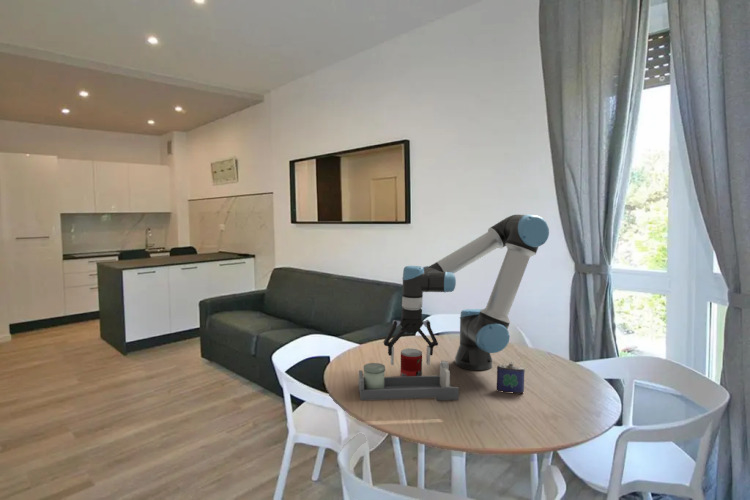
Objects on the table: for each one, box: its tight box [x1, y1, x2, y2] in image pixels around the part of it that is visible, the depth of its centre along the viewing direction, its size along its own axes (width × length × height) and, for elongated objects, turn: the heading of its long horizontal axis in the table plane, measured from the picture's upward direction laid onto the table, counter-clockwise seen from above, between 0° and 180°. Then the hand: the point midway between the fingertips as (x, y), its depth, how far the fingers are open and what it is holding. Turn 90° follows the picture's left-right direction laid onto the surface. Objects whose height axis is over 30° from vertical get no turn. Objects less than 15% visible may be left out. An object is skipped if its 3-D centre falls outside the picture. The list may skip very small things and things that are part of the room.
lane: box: [358, 369, 460, 401], centre depth 148 cm, size 33×12×7 cm, turn 95°
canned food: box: [400, 348, 423, 376], centre depth 160 cm, size 8×8×11 cm
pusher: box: [439, 360, 451, 387], centre depth 149 cm, size 2×9×10 cm, turn 5°
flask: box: [496, 361, 526, 394], centre depth 150 cm, size 9×3×11 cm, turn 74°
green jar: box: [363, 362, 386, 390], centre depth 147 cm, size 7×7×9 cm
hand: (410, 363), depth 160 cm, fingers open, 13 cm apart
